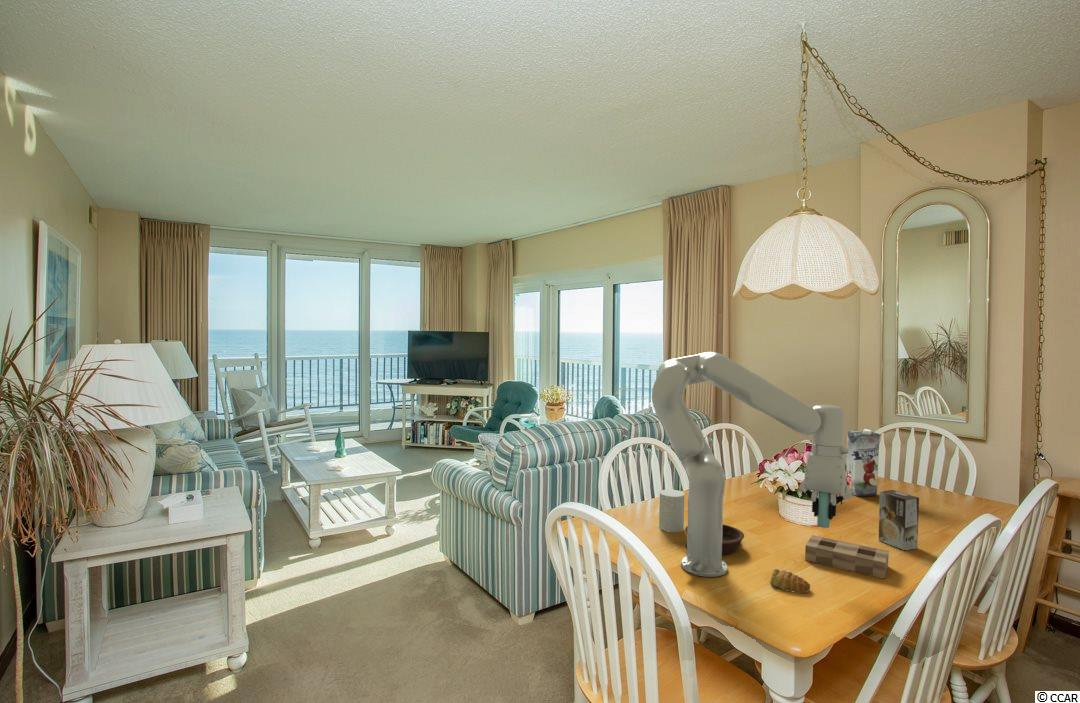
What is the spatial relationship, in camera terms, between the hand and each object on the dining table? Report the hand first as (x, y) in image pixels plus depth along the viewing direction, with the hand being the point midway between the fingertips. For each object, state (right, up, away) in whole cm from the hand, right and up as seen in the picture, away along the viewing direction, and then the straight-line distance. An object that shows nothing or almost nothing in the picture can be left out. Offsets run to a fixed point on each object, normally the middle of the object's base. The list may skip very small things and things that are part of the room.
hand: (823, 516), depth 153 cm
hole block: (+11, -16, +9) cm, 22 cm away
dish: (-24, -16, +21) cm, 35 cm away
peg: (0, -3, 0) cm, 3 cm away
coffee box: (+35, -16, +23) cm, 45 cm away
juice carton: (+54, -14, +76) cm, 95 cm away
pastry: (-12, -17, -5) cm, 22 cm away
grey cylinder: (-33, -15, +36) cm, 52 cm away
